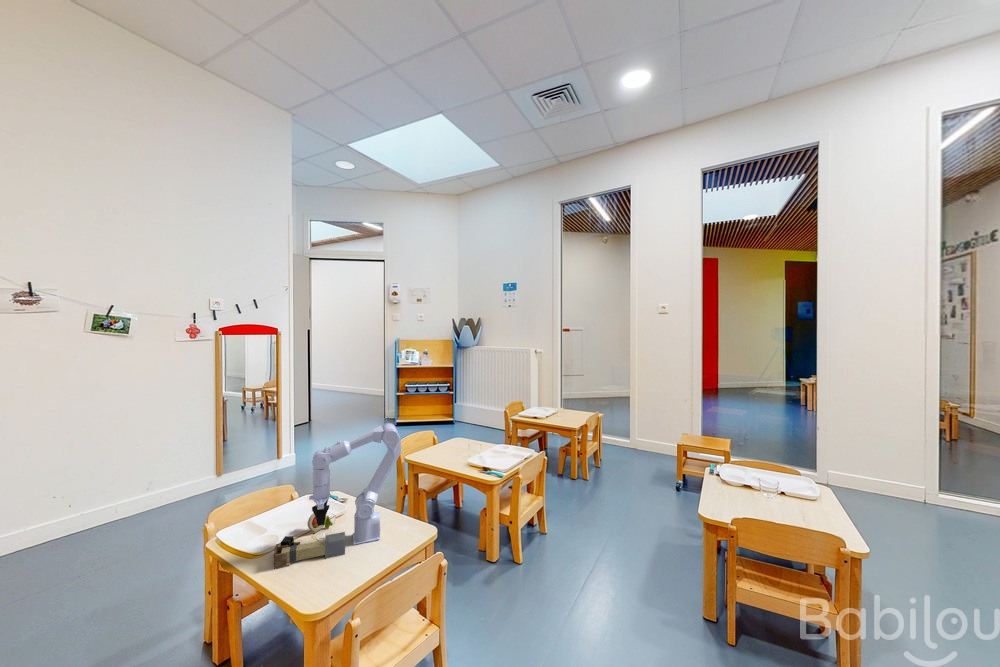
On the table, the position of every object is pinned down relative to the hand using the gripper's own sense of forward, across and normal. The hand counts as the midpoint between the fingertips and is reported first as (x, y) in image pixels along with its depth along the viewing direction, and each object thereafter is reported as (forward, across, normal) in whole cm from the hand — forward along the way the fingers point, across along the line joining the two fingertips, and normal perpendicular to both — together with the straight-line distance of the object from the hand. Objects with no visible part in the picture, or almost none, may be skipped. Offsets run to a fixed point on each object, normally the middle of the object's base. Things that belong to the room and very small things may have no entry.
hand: (321, 519), depth 141 cm
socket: (+10, +6, -12) cm, 17 cm away
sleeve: (+10, +6, +5) cm, 13 cm away
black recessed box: (+11, -2, -11) cm, 16 cm away
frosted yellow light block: (+10, +6, -5) cm, 13 cm away
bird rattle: (+10, -12, -1) cm, 16 cm away
